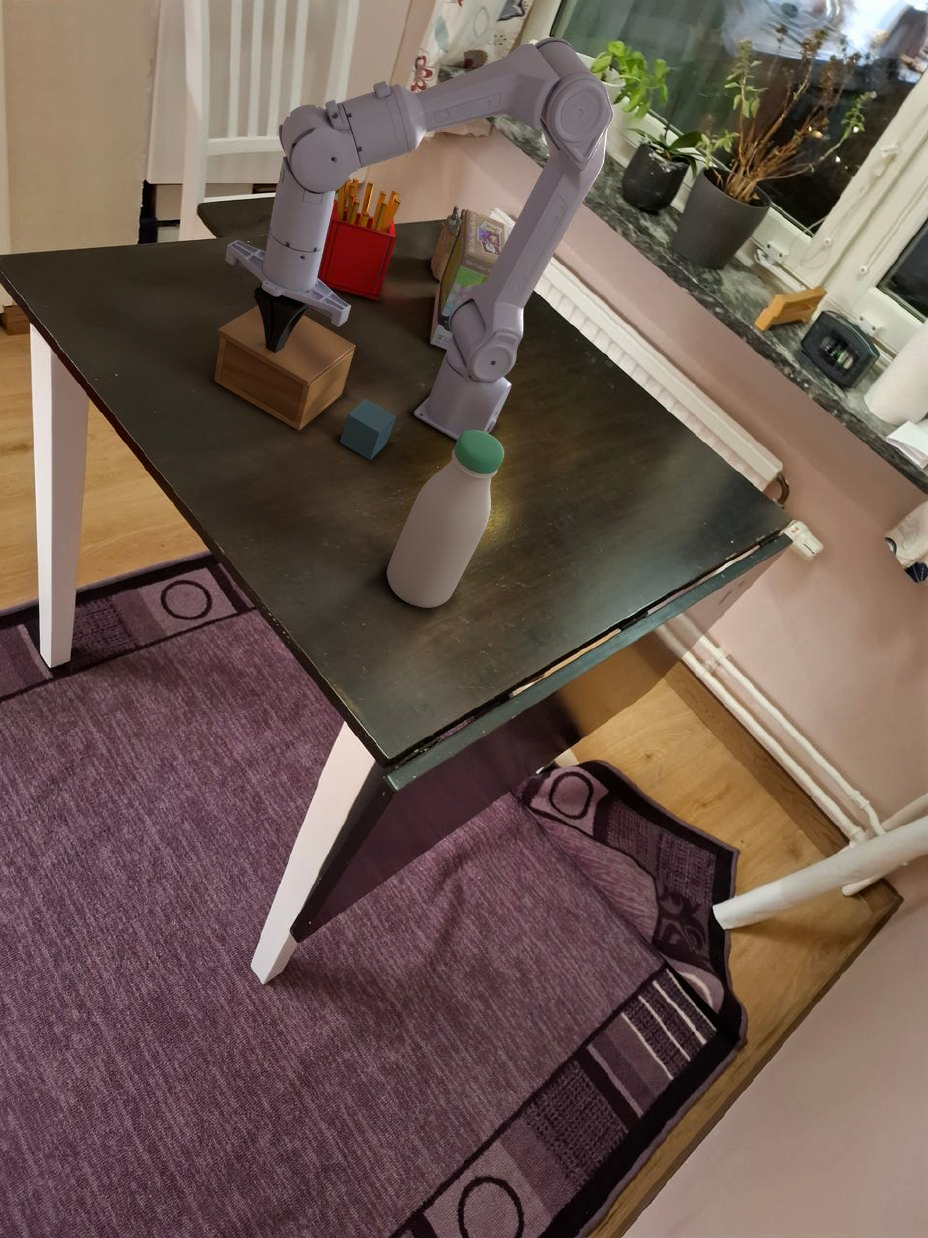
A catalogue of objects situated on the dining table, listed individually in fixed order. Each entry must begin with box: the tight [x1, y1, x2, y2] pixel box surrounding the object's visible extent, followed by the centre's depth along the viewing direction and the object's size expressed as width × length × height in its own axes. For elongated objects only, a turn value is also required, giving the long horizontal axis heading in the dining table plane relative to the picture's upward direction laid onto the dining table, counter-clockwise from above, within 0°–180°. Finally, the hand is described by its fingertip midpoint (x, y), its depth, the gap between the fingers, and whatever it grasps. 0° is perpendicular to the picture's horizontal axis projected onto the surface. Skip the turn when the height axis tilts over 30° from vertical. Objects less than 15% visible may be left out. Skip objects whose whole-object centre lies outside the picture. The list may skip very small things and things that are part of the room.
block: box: [339, 398, 397, 461], centre depth 101 cm, size 4×4×4 cm
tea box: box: [430, 208, 514, 351], centre depth 122 cm, size 15×10×15 cm
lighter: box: [430, 205, 467, 282], centre depth 133 cm, size 7×4×10 cm, turn 8°
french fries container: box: [317, 177, 401, 301], centre depth 119 cm, size 7×9×14 cm
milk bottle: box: [386, 430, 505, 609], centre depth 83 cm, size 8×8×20 cm
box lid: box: [216, 305, 356, 387], centre depth 98 cm, size 11×12×1 cm
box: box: [214, 336, 355, 431], centre depth 101 cm, size 11×12×7 cm
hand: (275, 347), depth 95 cm, fingers closed, pressing on box lid
